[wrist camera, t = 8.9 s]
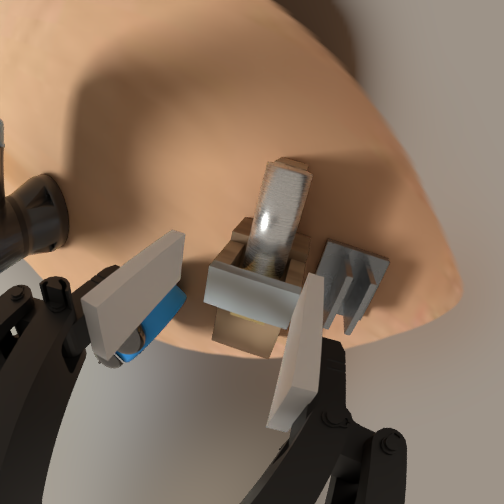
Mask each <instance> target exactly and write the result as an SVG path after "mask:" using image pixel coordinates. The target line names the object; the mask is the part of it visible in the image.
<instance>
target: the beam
mask: <svg viewBox="0 0 504 504" xmlns="http://www.w3.org/2000/svg"><path fill="white" fill-rule="evenodd" d="M275 162H276V163H282V164H286V165H290V166H294V167H297V168H300V169H303V170H305V171H307V169H308V164H305V163H301V162H298V161H294V160H291V159H287V158H283V157H281V158H280V159H278V160H276V161H275ZM252 223H253V219H249V218H246V217H245V218H244V219H243V220H242V221H241V222H240V224H239V225H238V226H237V227H236V228H235V229H234V230H233V231H232V236H231V240H230V241H229V243H228V244H227V245H226V246H225V247H224V249H223V250H222V251H221V252H220V253H219V255H218V256H217V257H216V258H215V259H214V261H213V262H212V263H211V264H210V265H209V270H208V277H207V283H206V290H205V296H204V302H205V303H207V304H210V305H213V306H216V307H218V308H217V313H216V319H215V324H214V330H213V335H212V340H213V341H216V342H218V343H221V344H224V345H227V346H230V347H233V348H236V349H238V350H241V351H244V352H247V353H250V354H254V355H257V356H260V357H263V358H266V359H269V357H270V355H271V352H272V350H273V347H274V345H275V342H276V340H277V337H278V335H279V332H280V330H281V328H283V329H286V330H287V328H288V325H289V323H290V320H291V317H292V315H293V312H294V310H295V307H296V305H297V302H298V299H299V297H300V294H301V289H302V282H303V276H304V269H305V263H306V260H307V257H308V253H309V245H310V237H309V236H306V235H302V234H299V233H296V234H295V238H294V241H293V244H292V247H291V250H290V253H289V256H288V260H287V263H286V266H285V269H284V272H283V275H282V277H281V278H280V279H279V280H276V279H273V278H270V277H266V276H263V275H260V274H257V273H254V272H251V271H247V270H244V269H243V268H242V264H243V260H244V256H245V252H246V248H247V243H248V239H249V235H250V231H251V227H252ZM230 312H233V313H236V314H239V315H242V316H245V317H248V318H251V319H254V320H257V321H260V322H263V323H265V324H264V325H261V324H258V323H255V322H251V321H248V320H245V319H243V318H240V317H237V316H234V315H231V314H230Z"/></svg>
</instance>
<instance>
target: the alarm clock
mask: <svg viewBox="0 0 504 504" xmlns="http://www.w3.org/2000/svg"><path fill="white" fill-rule="evenodd" d="M186 298H187V295H186V294H185V293H184V292H183V291H182V290H181V289H180V288H179V287H178V286H177V285H175V286H174V287H173V288H172V289H171V290H170V291H169V292H168V293H167V295H166V296H165V297H164V298H163V299H162V300H161V301H160V302H159V303H158V304H157V306H156V307H155V308H154V309H153V310H152V311H151V312H150V313H149V315H148V316H147V317H146V318H145V319H144V320H143V321H142V322H141V324H140V325H139V326H138V327H137V328H136V329H135V330H134V332H133V333H132V334H131V335H130V336H129V337H128V338H127V340H126V341H125V342H124V343H123V344H122V345H121V346H120V348H119V349H118V350H117V351H116V352H115V354H117V355H118V356H119V357H120V358H121V359H122V360H123V361H124V362H130V361H131V360H132V359H134V358H135V357H136V356H137V355H138V354H140V353H141V352H142V351H143V350H144V349H145V348H146V347H147V346H148V344H150V343H151V341H153V339H154V338H155V337H156V336H157V335H158V334H159V333H160V332H161V331H162V330H163V329H164V327H165V326H166V325H167V324H168V323H169V322H170V321H171V319H172V318H173V317H174V316H175V314H176V313H177V312H178V311H179V309H180V308H181V307H182V305H183V304H184V302H185V301H186ZM94 354H95V353H94ZM95 356H96V358H97V359H98V360H99V362H98V363H99V364H100V363H102V364H104V365H105V366H106V367H109V368H119V367H120V366H121V365H122V364H123V363H122V362H121V361H120V360H119V359H118V358H117V357H116V356H115V355H113V356H112V357H111V358H110V359H109V360H108V361H107V360H105V359H103V358H102V357H100V356H99V355H97V354H95Z"/></svg>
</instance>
